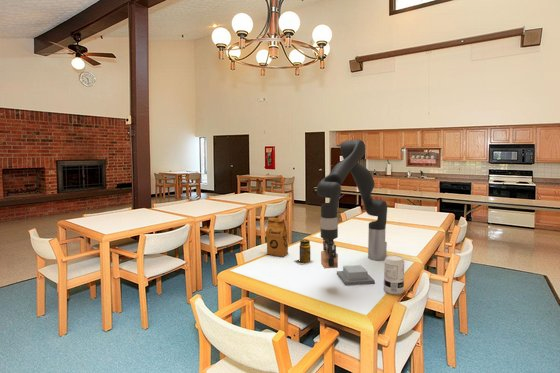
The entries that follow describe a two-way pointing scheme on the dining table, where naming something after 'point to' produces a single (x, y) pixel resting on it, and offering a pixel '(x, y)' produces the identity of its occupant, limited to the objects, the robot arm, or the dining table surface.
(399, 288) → the supplement can
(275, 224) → the coffee package
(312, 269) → the dining table surface
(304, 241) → the condiment
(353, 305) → the dining table surface
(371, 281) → the base
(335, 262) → the cube
